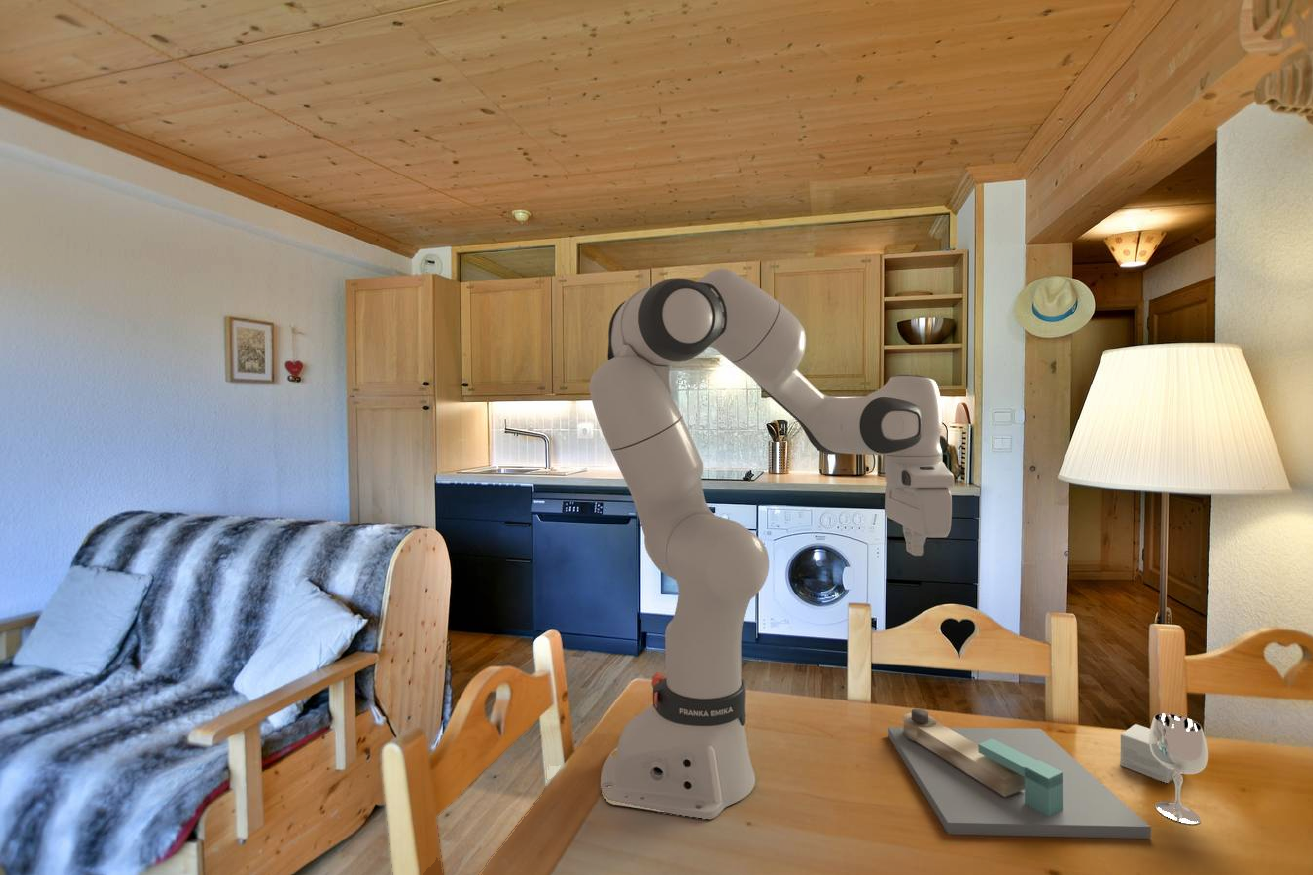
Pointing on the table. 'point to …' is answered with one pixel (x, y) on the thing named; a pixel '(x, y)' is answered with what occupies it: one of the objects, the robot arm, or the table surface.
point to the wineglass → (1178, 758)
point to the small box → (1141, 754)
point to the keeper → (1030, 776)
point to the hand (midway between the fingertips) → (914, 554)
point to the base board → (989, 813)
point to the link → (961, 753)
